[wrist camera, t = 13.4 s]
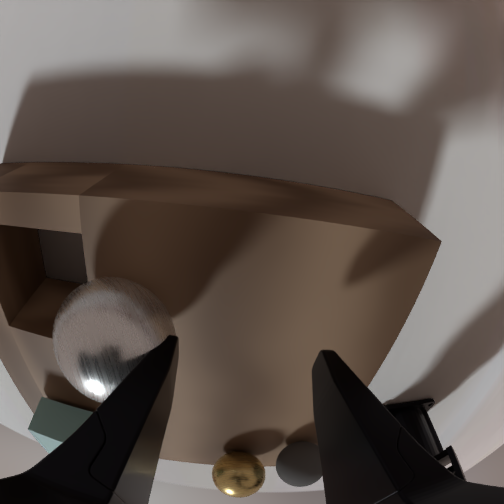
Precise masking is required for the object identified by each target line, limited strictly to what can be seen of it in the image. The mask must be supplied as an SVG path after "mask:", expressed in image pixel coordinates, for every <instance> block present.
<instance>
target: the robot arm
mask: <svg viewBox="0 0 504 504" xmlns="http://www.w3.org/2000/svg"><path fill="white" fill-rule="evenodd" d="M178 360H179V338H178V336H175V335H168V336H167V338H166V339H165V340H164V341H163V342H162V343H161V344H160V345H158V346H157V347H155V348H154V349H152V350H150V351H149V352H148V353H147V354H146V355H145V356H144V357H143V358H142V360H141V361H140V362H139V363H138V364H137V365H136V366H135V367H134V368H133V369H132V370H131V372H130V373H129V374H128V375H127V376H126V377H125V378H124V379H123V380H122V381H121V382H120V384H119V385H118V386H117V387H116V388H115V389H114V390H113V391H112V392H111V393H110V395H109V396H108V397H107V398H106V399H105V400H104V401H103V402H102V403H101V405H100V406H99V407H98V408H97V411H94V412H93V413H92V414H91V415H90V417H89V418H88V419H87V420H86V421H85V422H84V423H83V424H82V425H81V426H80V427H79V428H78V429H77V430H76V431H75V432H74V433H73V434H72V435H71V436H69V437H68V438H67V439H66V440H65V441H64V442H63V443H61V444H60V445H59V446H58V447H57V448H55V449H54V450H53V451H52V452H51V453H49V454H48V455H47V456H46V457H45V458H43V459H42V460H41V461H40V462H39V463H38V464H36V465H35V466H34V467H32V468H31V469H29V470H27V471H25V472H23V473H21V474H18V475H15V476H11V477H7V478H3V479H0V504H148V502H149V497H150V493H151V488H152V484H153V480H154V476H155V472H156V467H157V463H158V459H159V455H160V451H161V447H162V443H163V439H164V435H165V431H166V428H167V424H168V420H169V416H170V412H171V408H172V403H173V397H174V389H175V382H176V374H177V367H178ZM312 392H313V415H314V422H315V428H316V435H317V441H318V448H319V455H320V461H321V468H322V475H323V482H324V490H325V497H326V504H504V487H496V486H488V485H483V484H477V483H471V482H467V481H466V479H465V476H464V473H463V470H462V468H461V465H460V463H459V460H458V458H457V456H456V453H455V451H454V449H453V448H452V446H449V447H447V448H446V450H443V448H442V446H441V443H440V441H439V438H438V436H437V434H436V431H435V429H434V427H433V424H432V422H431V420H430V418H429V415H428V413H427V412H428V410H429V409H430V408H431V407H432V406H433V405H434V403H435V401H434V399H427V400H421V401H415V402H409V403H403V404H396V405H389V406H384V405H383V404H382V403H381V402H380V401H379V400H378V399H377V398H376V396H375V395H374V394H373V393H372V392H371V391H370V390H369V389H368V388H367V386H366V385H365V384H364V383H363V382H362V381H361V380H360V379H359V378H358V376H357V375H356V374H355V373H354V372H353V371H352V370H351V369H350V367H349V366H348V365H347V364H346V363H345V362H344V361H343V360H342V359H341V357H340V356H339V355H338V354H337V353H336V352H335V351H334V350H325V349H323V350H320V352H319V353H318V356H317V358H316V360H315V362H314V364H313V367H312ZM449 463H452V466H450V467H449V468H447V469H446V468H445V467H444V466H446V465H448V464H449Z"/></svg>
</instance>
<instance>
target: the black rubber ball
mask: <svg viewBox="0 0 504 504" xmlns="http://www.w3.org/2000/svg"><path fill="white" fill-rule="evenodd" d="M276 470H277V473H278V475H279V477H280V478H281V479H282V480H283V481H284V482H286V483H287V484H289V485H292V486H297V487H302V486H308V485H311V484H313V483H315V482H316V481H318V480H319V479H320V478H321V477H322V468H321V461H320V455H319V448H318V446H317V445H316V444H314V443H311V442H307V441H299V442H295V443H292V444H290V445H288V446H286V447H285V448H284V449H283V450H282V451H281V452H280V453H279V455H278V457H277V460H276Z"/></svg>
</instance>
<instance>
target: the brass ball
mask: <svg viewBox="0 0 504 504" xmlns="http://www.w3.org/2000/svg"><path fill="white" fill-rule="evenodd" d="M212 478H213V481H214V483H215V485H216V487H217V488H218V489H219V490H220V491H221V492H223V493H224V494H226V495H229V496H232V497H247V496H250V495H252V494H254V493H256V492H257V491H258V490H259V489H260V488H261V487H262V485H263V483H264V480H265V469H264V466H263V464H262V463H261V461H260V460H259V459H258V458H257V457H255V456H254V455H252V454H250V453H247V452H243V451H233V452H229V453H227V454H224V455H223V456H221V457H220V458H219V459H218V460H217V461H216V463H215V464H214V466H213V470H212Z"/></svg>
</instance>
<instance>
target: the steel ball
mask: <svg viewBox="0 0 504 504" xmlns="http://www.w3.org/2000/svg"><path fill="white" fill-rule="evenodd" d="M168 335H175V336H176V331H175V327H174V324H173V321H172V319H171V316H170V314H169V313H168V311H167V309H166V307H165V306H164V305H163V303H162V302H161V301H160V300H159V299H158V297H157V296H155V295H154V294H153V293H152V292H151V291H150V290H148V289H147V288H145V287H144V286H142V285H140V284H138V283H136V282H134V281H131V280H128V279H124V278H117V277H103V278H97V279H94V280H91V281H88V282H86V283H84V284H82V285H80V286H79V287H77V288H76V289H75V290H73V291H72V292H71V293H70V294H69V295H68V296H67V298H66V299H65V300H64V301H63V303H62V305H61V306H60V308H59V310H58V312H57V315H56V318H55V321H54V325H53V348H54V353H55V357H56V360H57V362H58V365H59V367H60V369H61V371H62V372H63V374H64V376H65V377H66V378H67V380H68V381H69V382H70V383H71V384H72V385H73V386H74V387H75V388H76V389H77V390H78V391H79V392H81V393H82V394H83V395H85V396H87V397H88V398H90V399H92V400H95V401H97V402H100V403H102V402H103V401H104V400H105V399H106V398H107V397H108V396H109V395H110V393H111V392H112V391H113V390H114V389H115V388H116V387H117V386H118V385H119V384H120V382H121V381H122V380H123V379H124V378H125V377H126V376H127V375H128V374H129V373H130V372H131V370H132V369H133V368H134V367H135V366H136V365H137V364H138V363H139V362H140V361H141V360H142V358H143V357H144V356H145V355H146V354H147V353H148V352H149V351H150V350H152V349H154V348H155V347H157V346H158V345H160V344H161V343H162V342H163V341H164V340H165V339H166V338H167V336H168Z"/></svg>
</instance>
